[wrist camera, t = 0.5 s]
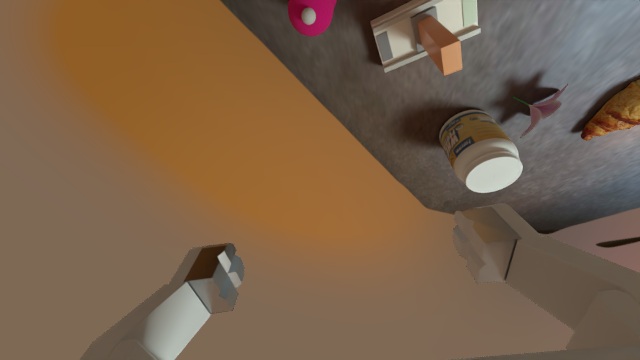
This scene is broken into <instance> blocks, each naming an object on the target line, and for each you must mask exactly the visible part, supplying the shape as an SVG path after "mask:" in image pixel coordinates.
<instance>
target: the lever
mask: <svg viewBox="0 0 640 360" xmlns="http://www.w3.org/2000/svg"><path fill="white" fill-rule="evenodd" d="M410 18H411V23H412V28H413V34H414V39H415V44H416V50H417V52H420V51H423V50H425V51H426V52H427V53H428V55H429V56H430V57H431V59H432V60H433V61H434V63H435V64H436V65H437V67H438V68H439V69H440V71H441V72H442V73H443V75H444V76H445V75H448V74H450V73H453V72H455V71H458V70H461V69H462V58H461V45H460V40H459V39H458V38H457V37H456V36H455V35H453V34H452V33H451V32H450V31H449V30H448V29H447V28H445V27H444V26H443V25H442V24H441V23H440V22H439V21H438V18H437V10H436V6H433V7H431V8H429V9H427V10H424V11H422V12H420V13H418V14H416V15H414V16H412V17H410Z"/></svg>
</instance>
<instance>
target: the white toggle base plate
mask: <svg viewBox="0 0 640 360" xmlns="http://www.w3.org/2000/svg"><path fill="white" fill-rule="evenodd" d="M433 6H436V10H437V18H438V21H439V22H440V23H441V24H442V25H443V26H444V27H445V28H447V29H448V30H449V31H450V32H451V33H452V34H453V35H455V36H456V37H457V38H458V39H459V40H460V41H462V40H464V39H467V38H469V37H471V36H474V35H476V34H479V33H480V27H478V24H477V0H412V1H410V2H408V3H406V4H404V5H402V6H400V7H398V8H396V9H394V10H392V11H390V12H388V13H386V14H384V15H382V16H380V17H378V18H376V19H374V20H372V21H370V23H371V27H372V30H373V34H374V37H375V41H376V44H377V47H378V51H379V54H380V58H381V61H382V65H383V68H384V71H385V73H386V72H388V71H390V70H393V69H395V68H397V67H400V66H402V65H405V64H407V63H409V62H412V61H414V60H417V59H419V58H421V57H424V56H426V55H428V53H427V52H426V51H425V50H423V51H420V52H417V50H416V44H415V39H414V34H413V28H412V23H411V18H410V17H412V16H414V15H416V14H418V13H420V12H422V11H424V10H427V9H429V8H431V7H433Z"/></svg>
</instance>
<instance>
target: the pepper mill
mask: <svg viewBox="0 0 640 360" xmlns="http://www.w3.org/2000/svg"><path fill="white" fill-rule="evenodd" d="M336 2H337V0H289V2H288V14H289V18H290V21H291V23H292V25H293V26H294V28H295V29H296V30H297V31H298V32H299V33H301V34H303V35H306V36H316V35H319V34H321V33H323V32H324V31H325V30H326V29H327V28H328V26H329V24H330V22H331V20H332V16H333V9H334V7H335V5H336Z"/></svg>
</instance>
